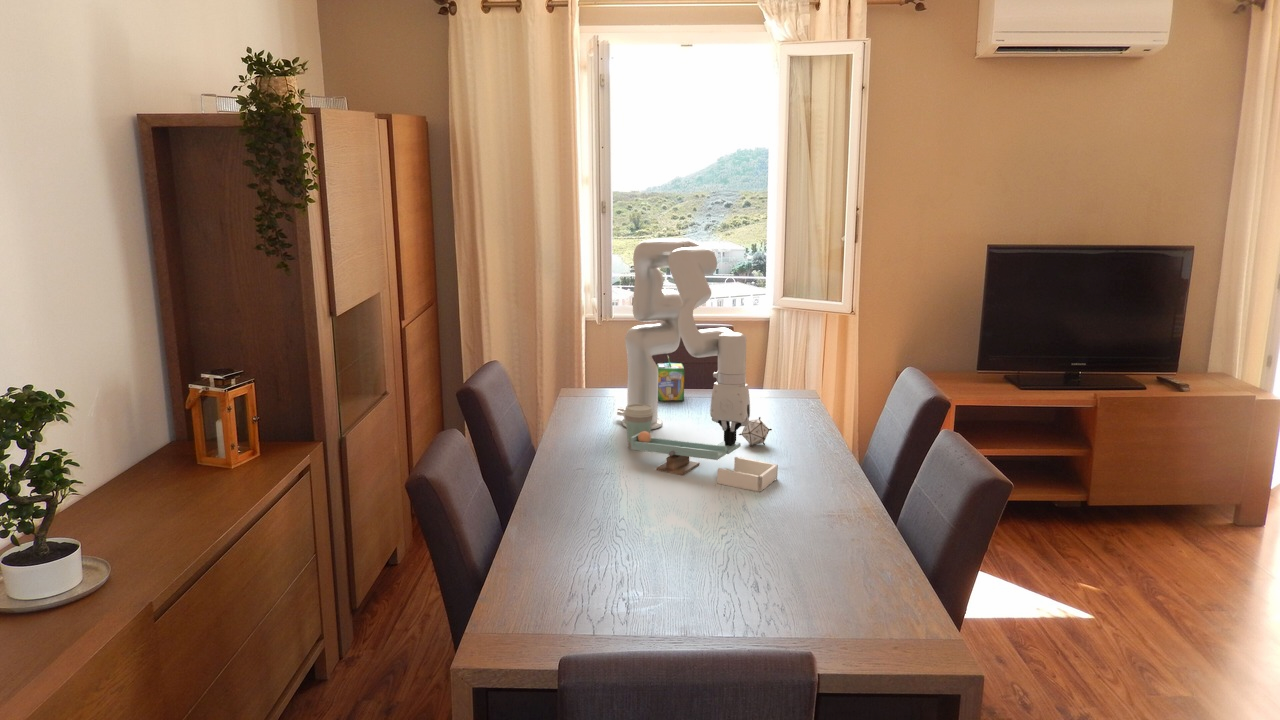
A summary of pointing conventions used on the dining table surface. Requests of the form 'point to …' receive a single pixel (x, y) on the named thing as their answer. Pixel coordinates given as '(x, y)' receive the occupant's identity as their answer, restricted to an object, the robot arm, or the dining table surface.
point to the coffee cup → (638, 419)
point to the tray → (748, 474)
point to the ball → (644, 437)
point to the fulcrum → (677, 465)
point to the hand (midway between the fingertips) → (729, 444)
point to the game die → (755, 432)
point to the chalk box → (670, 381)
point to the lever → (684, 448)
